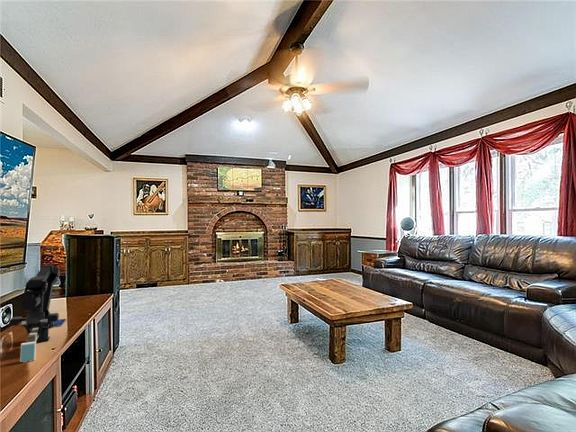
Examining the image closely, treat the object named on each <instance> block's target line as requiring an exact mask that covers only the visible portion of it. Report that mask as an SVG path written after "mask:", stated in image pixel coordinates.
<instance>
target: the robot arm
mask: <svg viewBox="0 0 576 432" xmlns="http://www.w3.org/2000/svg"><path fill="white" fill-rule="evenodd" d="M60 276H61V270H60V269H59V268H58V267H55V265H52V264H45V265H41V267H40V270H39V271H38V273H37V274H36V275H35V276H34V277H31V278H30V279H28V281H27V282H26V283H25V288H24V291H23V296H26V298H24V299H23V300H22V302H21V303H20V305H21V307H22V309H24V310H27V313H26V317H23V316H22V315H21V316H13V317H11V318H10V320H9V321H8V327H12V326H18V325H19V324H21V325H20V326H21V327H24V328H25V330H26V332H27V335H29V334H30V332H31V331H32V329H33V328H38V333H37V337H38V336H39V337H38V339H37V341H36V344H37V343H44V342H49V341H50V338H51V336H49V332H50V330H51V329H53V328H54V327H53V321H58V320H59V319H60V314H59V312H54V313H53V312H52V313H51V312H50V311H49V309H50V306H51V299H52V293H53V288H54V285H55V284H56V283H57V282H58V280H59V277H60Z"/></svg>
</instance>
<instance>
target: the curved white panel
mask: <svg viewBox="0 0 576 432" xmlns="http://www.w3.org/2000/svg"><path fill="white" fill-rule="evenodd" d="M37 333H38V328H33V329H32V330H31V332H30V334H27V338H26V339H27V340H26V341H27V342H35V341H37V339H38V337H39V336H38V337H37ZM27 342H26V343H27Z"/></svg>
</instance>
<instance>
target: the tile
mask: <svg viewBox="0 0 576 432" xmlns="http://www.w3.org/2000/svg"><path fill="white" fill-rule="evenodd" d="M36 349H37V343H36V341H35V342H22V343H20V359H19V363H20V362H23V363H28V362H27V361H30V362H33V361H32V360H35V361H36V354H37V353H36V351H37V350H36Z"/></svg>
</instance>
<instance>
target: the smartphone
mask: <svg viewBox="0 0 576 432" xmlns="http://www.w3.org/2000/svg"><path fill="white" fill-rule="evenodd" d="M66 321H67V318H61V319H60V318H59V319H58V321H53V328H61V327H62V326H64V324H65V323H66Z"/></svg>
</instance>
